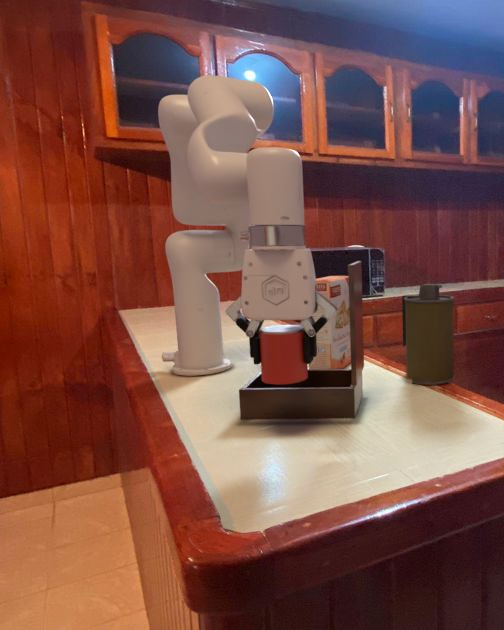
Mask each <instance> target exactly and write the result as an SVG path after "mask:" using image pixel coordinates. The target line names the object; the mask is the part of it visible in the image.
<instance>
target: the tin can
mask: <svg viewBox="0 0 504 630" xmlns="http://www.w3.org/2000/svg"><path fill="white" fill-rule="evenodd" d="M300 325H301V324H277V325H276V324H275V325H269V326H265V327H261V329H260V330H261V331H259V338H260V356H261V363H260V371H261V373H262V381H263V382H264V383H268V384H292V383H297V382H301V381H303V380H306V379H307V378H308V370H309V365H308V364H306V363H305V360H304V337H305V336H306V331H305V329H304V327H303V326H300Z"/></svg>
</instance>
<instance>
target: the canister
mask: <svg viewBox="0 0 504 630" xmlns="http://www.w3.org/2000/svg"><path fill="white" fill-rule="evenodd" d="M442 288H443V285H442V284H439V283H424V284H420V287H419V291H418V294H404V295H402V297H401V301H402V302H401V303H402V304H401V307H402V309H401V310H402V311H401V313H402V316H401V317H402V348H405V363H406V364H405V366H406V367H405V368H406V369H405V370H406V371H405V372H406V377H407V378H408V379H410V380H411V381H412V384H414V385H422V386H440V385H445V384H449V383H451V382H453V381H454V380H455V378H456V377H455V375H454V373H455V372H454V369H455V368H454V367H455V366H454V365H455V364H454V363H455V362H454V361H455V360H454V359H455V356H454V355H455V354H454V353H455V349H454V348H455V347H454V345H455V343H454V342H455V341H454V338H455V337H454V335H455V333H454V332H455V329H454V328H455V327H454V326H455V324H454V323H455V320H454V319H455V317H454V316H455V312H454V311H455V307H454V306H455V305H454V304H455V297H454V296H453V295H448V294H440V289H442Z"/></svg>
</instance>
